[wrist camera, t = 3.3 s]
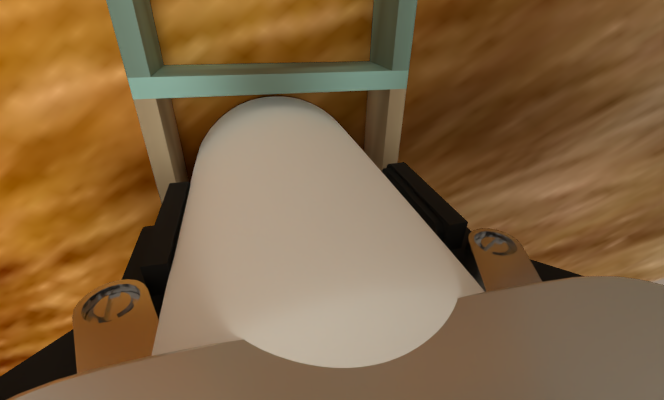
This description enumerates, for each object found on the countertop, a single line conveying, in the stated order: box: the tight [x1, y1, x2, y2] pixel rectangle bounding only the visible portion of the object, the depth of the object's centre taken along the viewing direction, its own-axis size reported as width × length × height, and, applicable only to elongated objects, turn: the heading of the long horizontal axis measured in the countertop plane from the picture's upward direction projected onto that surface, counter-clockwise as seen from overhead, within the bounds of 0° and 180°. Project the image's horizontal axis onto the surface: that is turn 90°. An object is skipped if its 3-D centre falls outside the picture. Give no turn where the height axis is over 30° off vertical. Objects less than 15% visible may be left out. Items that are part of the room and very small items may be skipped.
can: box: [152, 96, 485, 368], centre depth 9 cm, size 6×6×12 cm
